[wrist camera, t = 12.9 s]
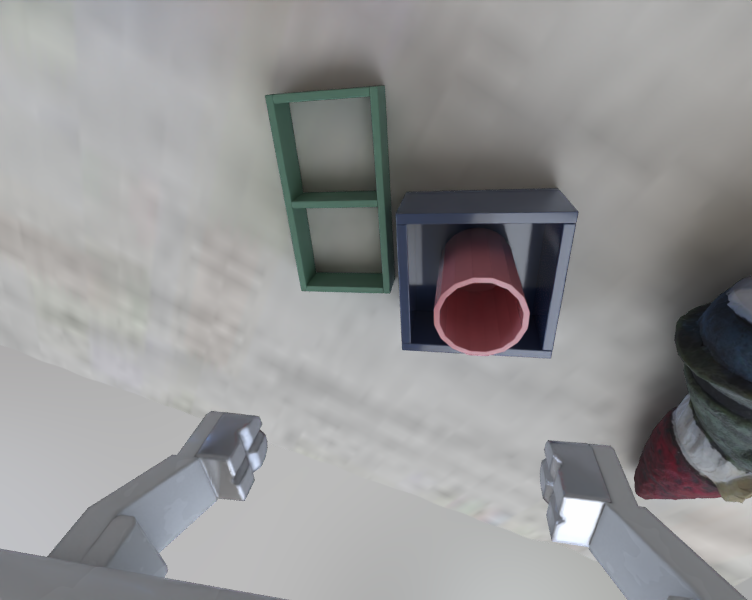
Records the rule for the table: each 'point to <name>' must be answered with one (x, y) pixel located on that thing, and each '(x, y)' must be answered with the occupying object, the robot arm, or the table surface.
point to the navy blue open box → (513, 222)
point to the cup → (479, 294)
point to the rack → (301, 201)
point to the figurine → (707, 408)
